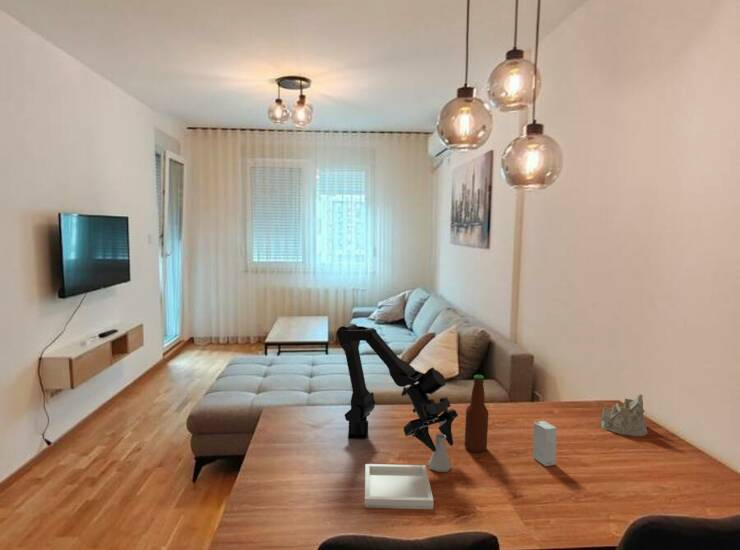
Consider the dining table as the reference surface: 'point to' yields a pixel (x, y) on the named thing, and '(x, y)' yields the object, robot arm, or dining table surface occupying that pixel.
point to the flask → (440, 456)
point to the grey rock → (625, 418)
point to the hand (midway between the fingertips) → (443, 448)
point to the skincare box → (544, 443)
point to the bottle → (476, 418)
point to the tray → (397, 487)
